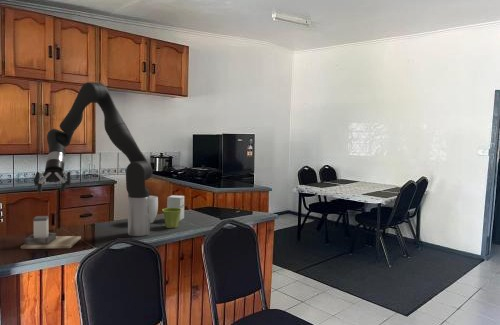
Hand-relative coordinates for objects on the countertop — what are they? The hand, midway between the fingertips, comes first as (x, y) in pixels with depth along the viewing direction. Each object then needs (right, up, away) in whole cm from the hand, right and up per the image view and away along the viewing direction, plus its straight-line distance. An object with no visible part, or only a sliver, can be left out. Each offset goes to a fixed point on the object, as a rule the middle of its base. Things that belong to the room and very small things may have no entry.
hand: (51, 192), depth 164 cm
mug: (+32, -18, +30) cm, 48 cm away
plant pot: (+48, -19, +23) cm, 56 cm away
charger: (+2, -19, -11) cm, 22 cm away
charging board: (+6, -20, -10) cm, 23 cm away
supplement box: (+46, -18, +39) cm, 63 cm away
